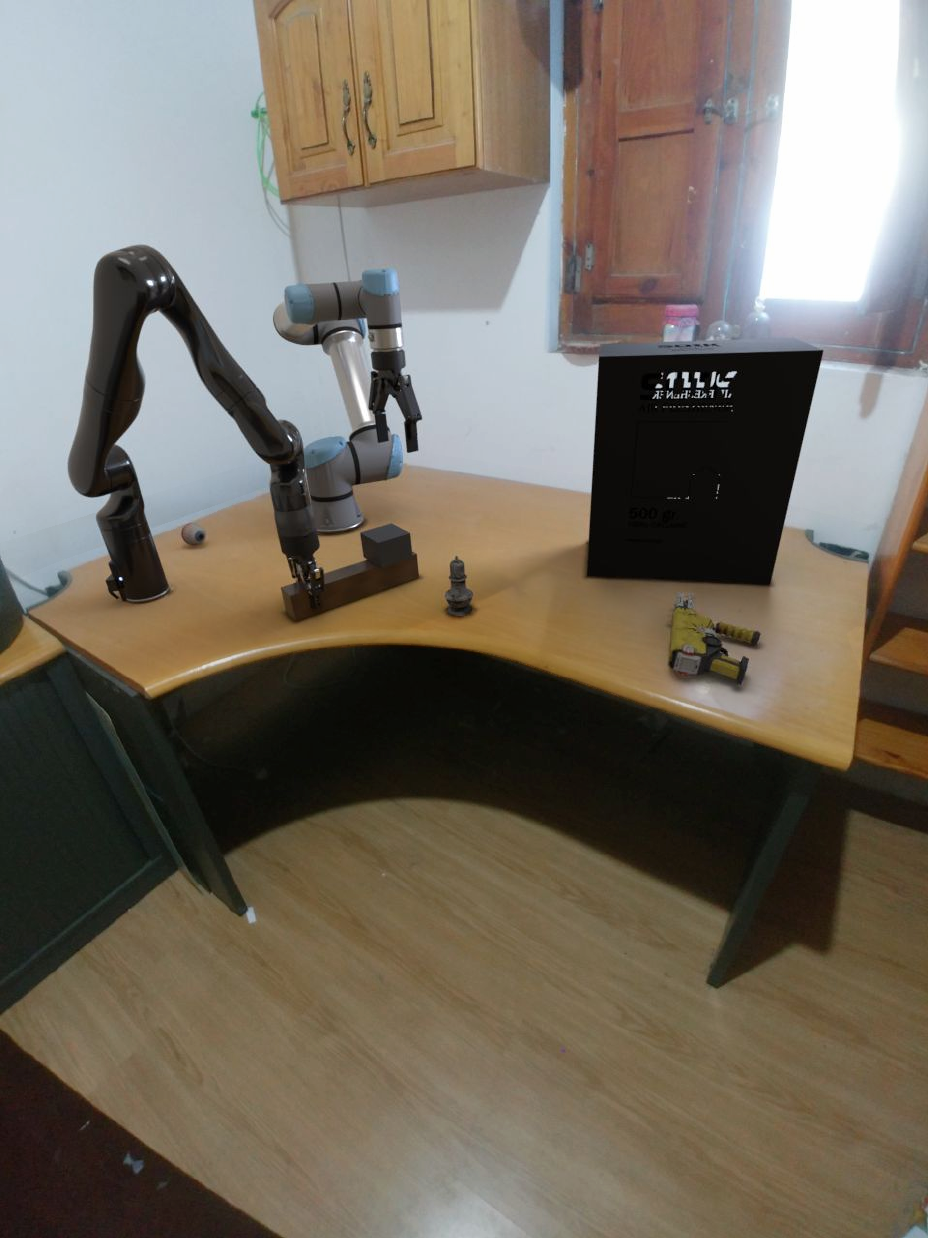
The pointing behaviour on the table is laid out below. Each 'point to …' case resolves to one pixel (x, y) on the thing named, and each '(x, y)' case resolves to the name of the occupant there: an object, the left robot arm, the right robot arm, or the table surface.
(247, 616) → the table surface
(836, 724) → the table surface
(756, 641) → the toy gun
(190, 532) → the eyeball
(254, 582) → the table surface
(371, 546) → the cap block
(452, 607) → the salt shaker
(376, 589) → the dark wooden beam
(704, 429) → the cardboard box
